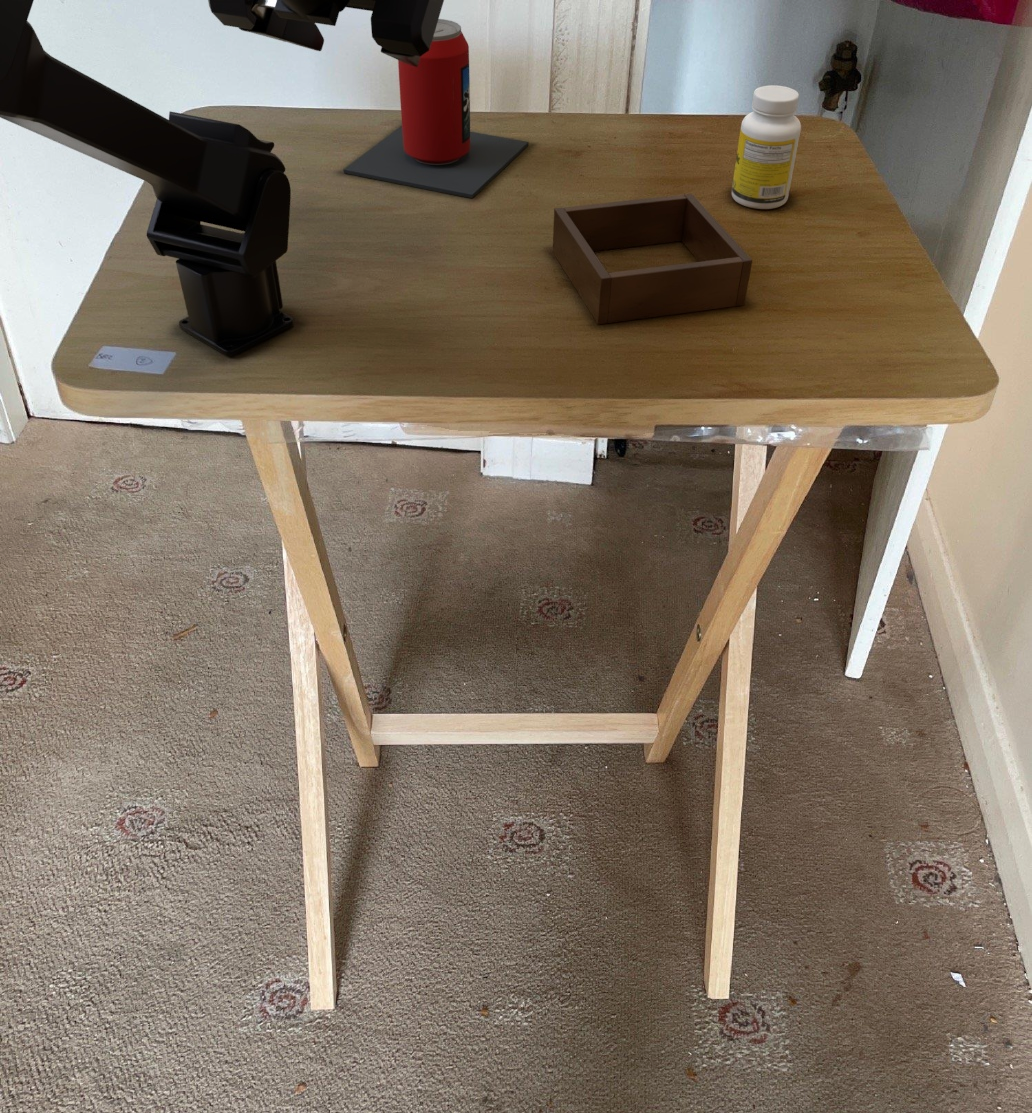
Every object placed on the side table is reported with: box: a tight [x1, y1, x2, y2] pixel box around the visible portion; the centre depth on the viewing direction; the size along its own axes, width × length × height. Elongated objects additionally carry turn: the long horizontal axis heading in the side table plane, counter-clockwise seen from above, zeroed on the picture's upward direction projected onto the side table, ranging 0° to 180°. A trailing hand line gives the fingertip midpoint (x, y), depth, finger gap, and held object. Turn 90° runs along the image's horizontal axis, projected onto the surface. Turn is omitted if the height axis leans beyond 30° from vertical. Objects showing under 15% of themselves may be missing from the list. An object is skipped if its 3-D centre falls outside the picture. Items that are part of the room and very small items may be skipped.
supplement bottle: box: [731, 84, 802, 210], centre depth 96 cm, size 5×5×10 cm
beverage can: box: [397, 18, 471, 165], centre depth 101 cm, size 7×7×12 cm
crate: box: [552, 193, 753, 325], centre depth 86 cm, size 13×13×4 cm
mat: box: [342, 125, 529, 199], centre depth 105 cm, size 14×14×1 cm
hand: (368, 52), depth 88 cm, fingers open, 9 cm apart
